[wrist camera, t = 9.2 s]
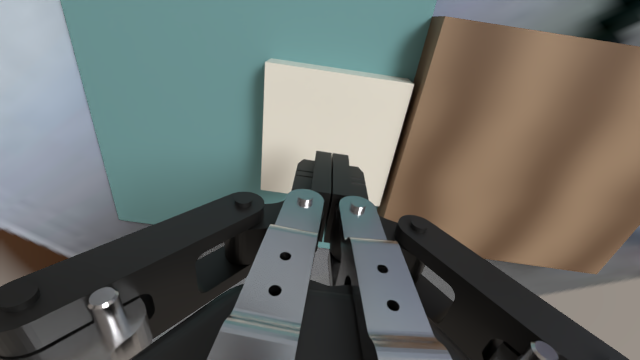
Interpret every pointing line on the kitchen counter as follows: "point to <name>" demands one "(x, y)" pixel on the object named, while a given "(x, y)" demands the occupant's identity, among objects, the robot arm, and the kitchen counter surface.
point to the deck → (521, 144)
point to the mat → (214, 84)
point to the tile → (330, 121)
